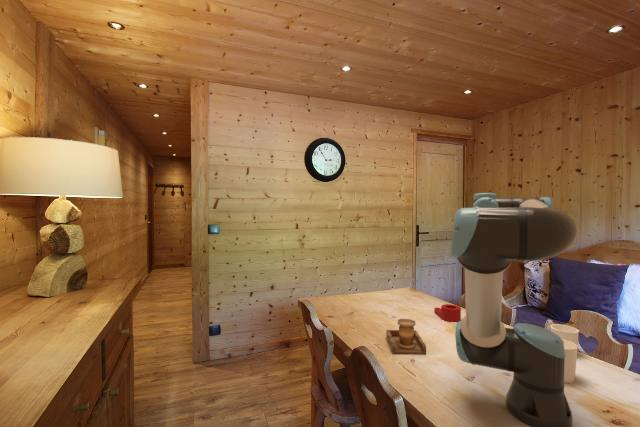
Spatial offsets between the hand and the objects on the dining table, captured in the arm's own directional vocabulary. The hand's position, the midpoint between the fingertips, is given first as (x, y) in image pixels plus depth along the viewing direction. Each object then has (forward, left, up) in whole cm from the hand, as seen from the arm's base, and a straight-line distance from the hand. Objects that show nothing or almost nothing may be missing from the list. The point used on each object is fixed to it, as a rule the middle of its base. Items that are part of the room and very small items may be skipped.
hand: (484, 293), depth 116 cm
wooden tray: (+16, +25, -27) cm, 40 cm away
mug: (+12, -38, -27) cm, 48 cm away
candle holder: (-7, -22, -27) cm, 35 cm away
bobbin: (+14, +25, -26) cm, 38 cm away
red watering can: (+54, -5, -27) cm, 60 cm away
